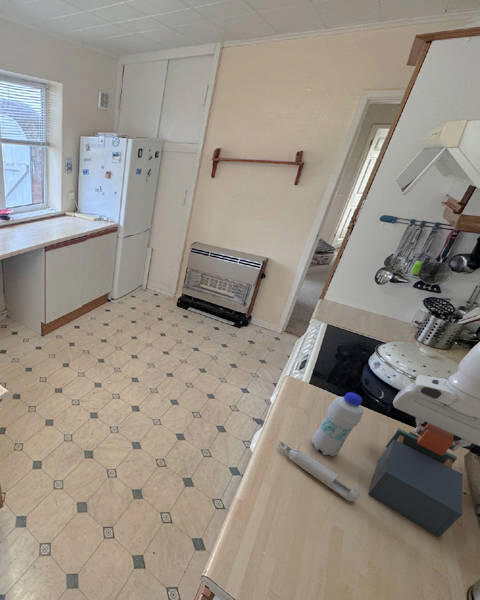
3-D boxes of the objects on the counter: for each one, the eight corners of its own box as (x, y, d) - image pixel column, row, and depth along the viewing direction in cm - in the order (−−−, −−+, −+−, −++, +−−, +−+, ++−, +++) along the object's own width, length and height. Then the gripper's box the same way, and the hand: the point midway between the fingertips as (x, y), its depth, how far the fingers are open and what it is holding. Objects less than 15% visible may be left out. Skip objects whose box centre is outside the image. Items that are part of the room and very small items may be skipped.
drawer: (388, 436, 95) (400, 419, 92) (442, 463, 88) (457, 446, 85) (378, 472, 84) (391, 454, 81) (439, 507, 76) (456, 489, 73)
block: (418, 434, 85) (428, 421, 83) (442, 446, 82) (453, 433, 80) (417, 443, 82) (427, 430, 80) (442, 456, 79) (453, 443, 77)
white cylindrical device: (357, 497, 78) (370, 479, 75) (351, 508, 75) (364, 491, 72) (280, 444, 90) (289, 428, 87) (273, 452, 88) (281, 435, 85)
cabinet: (377, 460, 88) (393, 439, 84) (441, 496, 80) (462, 473, 76) (367, 494, 79) (385, 471, 75) (438, 537, 71) (462, 514, 67)
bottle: (338, 463, 86) (374, 408, 77) (309, 451, 89) (340, 396, 80) (336, 446, 91) (369, 392, 82) (308, 435, 94) (338, 382, 85)
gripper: (535, 420, 70) (494, 462, 76) (411, 371, 83) (384, 410, 90) (539, 434, 66) (495, 477, 72) (408, 381, 80) (381, 421, 86)
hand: (433, 440), depth 81 cm, fingers closed on block, 4 cm apart
